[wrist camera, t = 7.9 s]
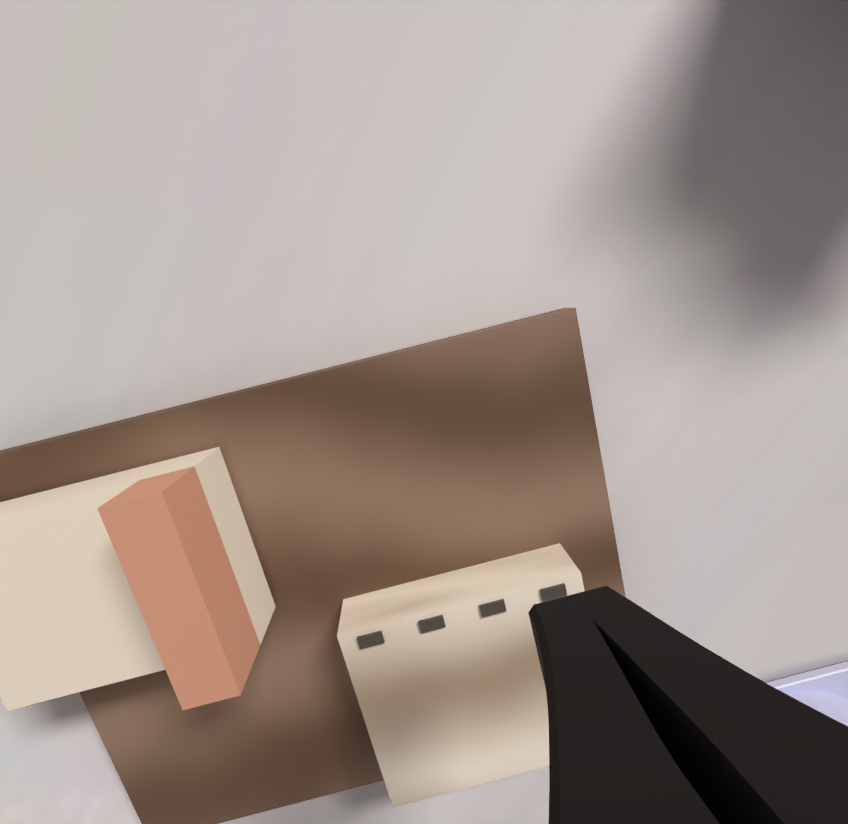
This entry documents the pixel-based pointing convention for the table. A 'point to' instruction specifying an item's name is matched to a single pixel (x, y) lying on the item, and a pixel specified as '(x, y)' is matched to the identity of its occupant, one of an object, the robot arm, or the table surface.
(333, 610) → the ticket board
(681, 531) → the table surface
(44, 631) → the cream block with bar
